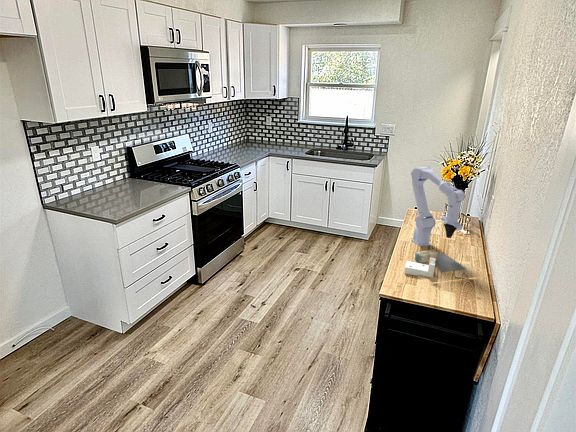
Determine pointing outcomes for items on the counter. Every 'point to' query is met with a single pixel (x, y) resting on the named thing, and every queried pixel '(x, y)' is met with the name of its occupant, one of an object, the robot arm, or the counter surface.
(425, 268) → the bracket
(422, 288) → the counter surface
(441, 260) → the mat
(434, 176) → the robot arm
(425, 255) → the tall block
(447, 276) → the counter surface
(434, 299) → the counter surface
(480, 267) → the counter surface
